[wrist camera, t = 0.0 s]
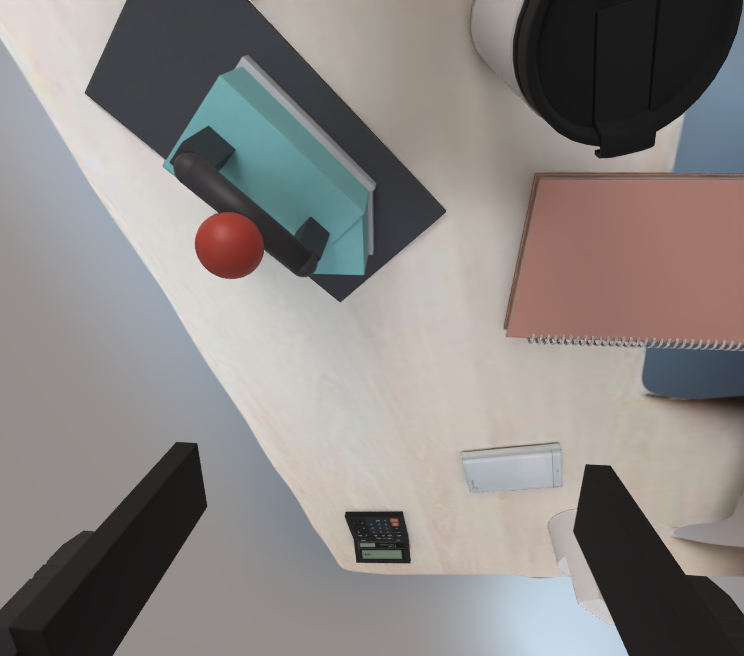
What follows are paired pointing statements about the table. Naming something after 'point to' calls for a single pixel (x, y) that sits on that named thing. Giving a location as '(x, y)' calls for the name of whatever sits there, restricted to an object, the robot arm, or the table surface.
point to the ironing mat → (221, 55)
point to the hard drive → (513, 468)
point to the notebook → (632, 261)
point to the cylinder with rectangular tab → (576, 565)
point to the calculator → (379, 537)
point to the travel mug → (606, 61)
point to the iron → (272, 183)
